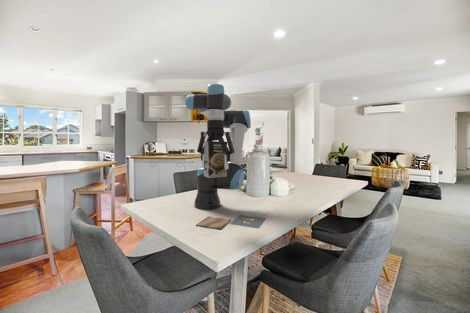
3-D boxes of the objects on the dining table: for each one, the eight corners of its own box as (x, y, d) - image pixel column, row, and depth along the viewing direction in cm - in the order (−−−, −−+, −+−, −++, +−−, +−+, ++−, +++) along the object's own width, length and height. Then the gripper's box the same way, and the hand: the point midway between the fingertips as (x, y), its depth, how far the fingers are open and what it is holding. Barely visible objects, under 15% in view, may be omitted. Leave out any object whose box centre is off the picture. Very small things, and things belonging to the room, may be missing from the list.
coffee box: (208, 178, 102) (208, 141, 101) (203, 176, 108) (203, 141, 106) (227, 176, 106) (227, 141, 105) (221, 174, 112) (221, 141, 111)
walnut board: (196, 225, 105) (196, 224, 105) (208, 217, 116) (208, 216, 116) (220, 229, 101) (220, 228, 101) (230, 220, 112) (230, 219, 112)
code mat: (229, 223, 108) (229, 223, 108) (239, 214, 121) (239, 214, 121) (258, 228, 103) (258, 227, 103) (266, 218, 116) (266, 217, 116)
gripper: (189, 119, 105) (189, 168, 107) (236, 118, 98) (236, 171, 99) (197, 120, 112) (197, 166, 114) (242, 120, 105) (241, 168, 106)
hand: (215, 168), depth 107 cm, fingers closed on coffee box, 10 cm apart
